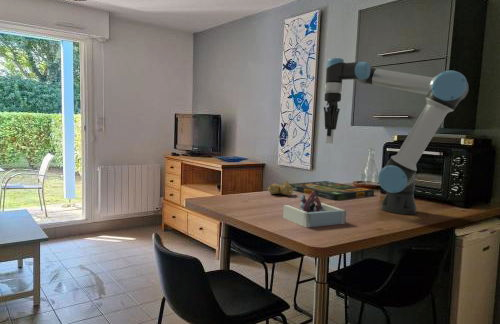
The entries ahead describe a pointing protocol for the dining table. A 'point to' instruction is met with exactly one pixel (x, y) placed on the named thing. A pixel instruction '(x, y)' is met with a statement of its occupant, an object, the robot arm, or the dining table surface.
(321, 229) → the dining table surface
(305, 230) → the dining table surface
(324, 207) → the cradle
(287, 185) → the ginger root
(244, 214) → the dining table surface
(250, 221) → the dining table surface
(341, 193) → the pizza box
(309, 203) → the brake caliper
